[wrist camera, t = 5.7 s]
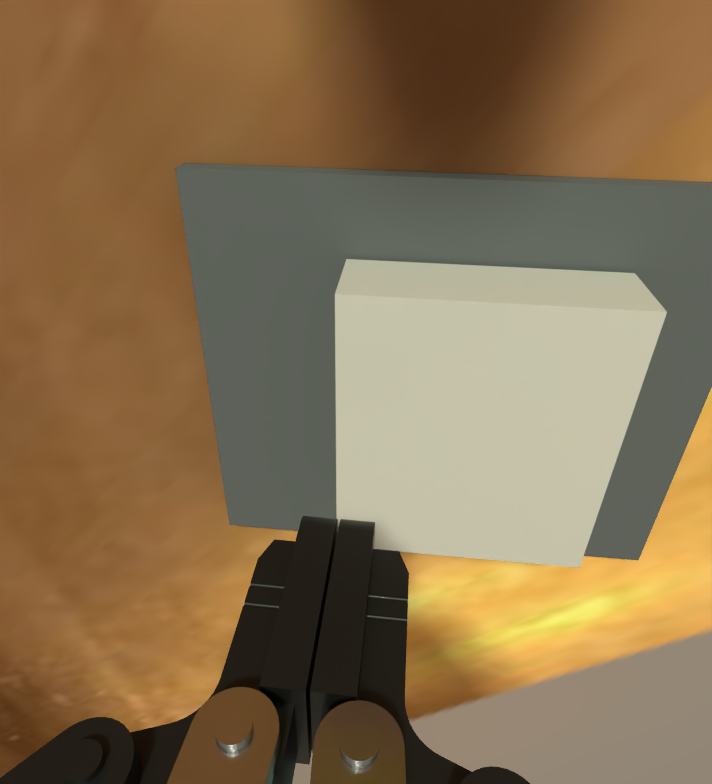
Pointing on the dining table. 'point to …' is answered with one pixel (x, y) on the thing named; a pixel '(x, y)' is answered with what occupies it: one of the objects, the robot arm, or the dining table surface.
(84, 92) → the dining table surface
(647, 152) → the dining table surface
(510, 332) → the tile
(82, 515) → the dining table surface
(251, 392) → the mat
